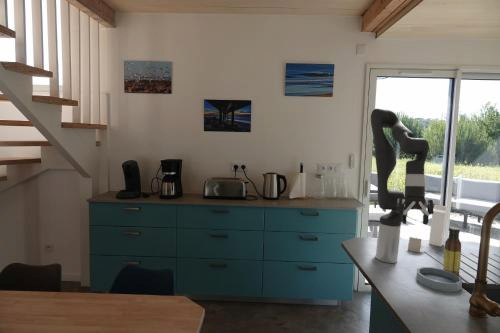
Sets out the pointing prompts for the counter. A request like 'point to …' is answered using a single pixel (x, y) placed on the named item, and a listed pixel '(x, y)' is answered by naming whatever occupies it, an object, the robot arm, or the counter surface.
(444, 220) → the milk
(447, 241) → the sauce bottle
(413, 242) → the beige square block
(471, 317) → the counter surface
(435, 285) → the round grey tray
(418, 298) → the counter surface
